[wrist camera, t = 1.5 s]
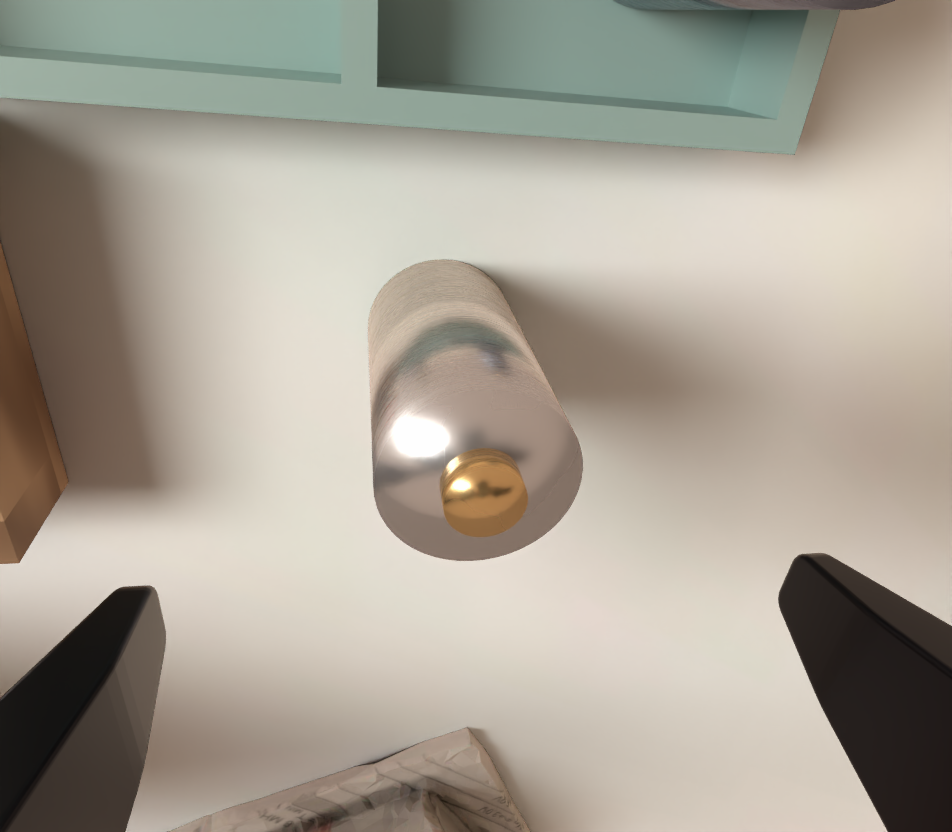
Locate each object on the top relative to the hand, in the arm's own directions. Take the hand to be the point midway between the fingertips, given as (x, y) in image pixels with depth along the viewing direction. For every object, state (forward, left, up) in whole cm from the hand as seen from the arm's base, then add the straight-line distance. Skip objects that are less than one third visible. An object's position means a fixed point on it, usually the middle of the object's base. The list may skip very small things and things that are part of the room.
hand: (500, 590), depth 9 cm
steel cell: (0, 0, -9) cm, 9 cm away
